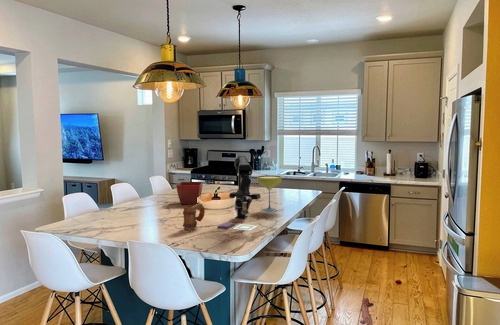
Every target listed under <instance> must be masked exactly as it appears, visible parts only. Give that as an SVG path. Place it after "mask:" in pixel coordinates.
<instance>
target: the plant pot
mask: <svg viewBox="0 0 500 325" xmlns="http://www.w3.org/2000/svg"><path fill="white" fill-rule="evenodd" d="M203 184H204V183H203V181H181V182H179V183H177V184H176V185H175V186H176V192H177V196H178V199H179V202H180V205H182V204H197V197H199V196H200V197H201V196H202V192H203V191H202V190H203Z"/></svg>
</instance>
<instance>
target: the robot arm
mask: <svg viewBox="0 0 500 325" xmlns="http://www.w3.org/2000/svg"><path fill="white" fill-rule="evenodd" d="M234 167H235V170H236V172H237V178H238V179H237V183H238V188H237V191H233V192H230V193H229V195H228V198H229V199H234V198H235V200H234V209H235V210H236V211H237V213H236V214H237V215H236V216H235V217H234V218H235V219H246V218H247V217H248V215H247V214H246V215H243V214H241V210H242V202H247V210H249V208H250V206H251V204H252V201H253V200H254V201H255V200H256V201H257V200H260V199H261V194H260V193H255V192H254V193H251V192H250V188H251V184H252V180H251V178H250V177H251V176H252V175H253V168H252V166H251V165H250V163H249V162H248V158H247V156H246V155H238V156H237V158H235V159H234Z"/></svg>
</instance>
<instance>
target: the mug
mask: <svg viewBox="0 0 500 325" xmlns="http://www.w3.org/2000/svg"><path fill="white" fill-rule="evenodd" d="M197 210H198V211H199V214H198V215H197V216H196V213H197ZM205 210H206V209H205V207H204V206H203V204H201V203H199V202H198V204H197V205H183V210H182V215H183V223H182V227H183V229H184V230H186V231H193V230H195V229H197V225H198V222H201V221H202V220H203V219H204V217H205V213H206V211H205Z"/></svg>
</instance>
